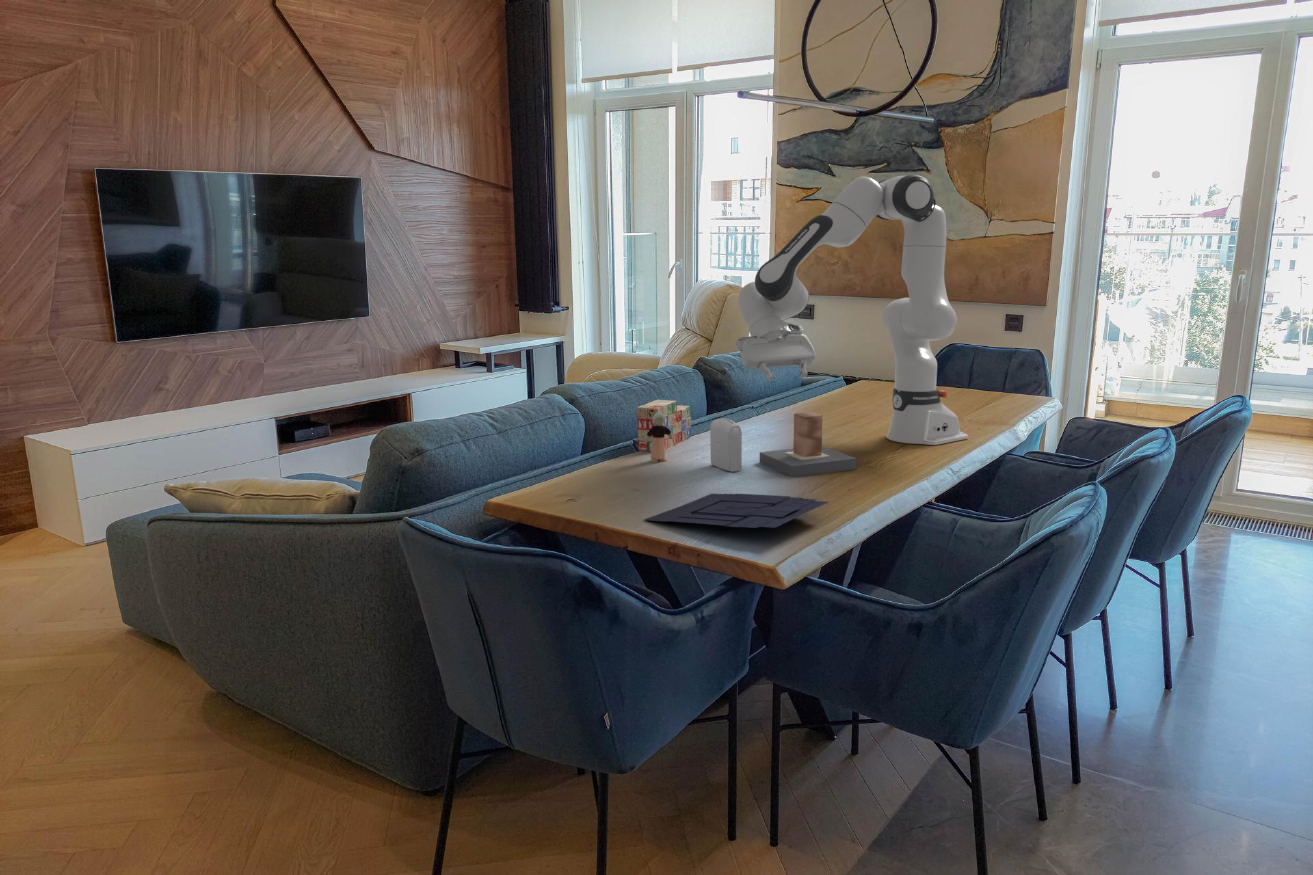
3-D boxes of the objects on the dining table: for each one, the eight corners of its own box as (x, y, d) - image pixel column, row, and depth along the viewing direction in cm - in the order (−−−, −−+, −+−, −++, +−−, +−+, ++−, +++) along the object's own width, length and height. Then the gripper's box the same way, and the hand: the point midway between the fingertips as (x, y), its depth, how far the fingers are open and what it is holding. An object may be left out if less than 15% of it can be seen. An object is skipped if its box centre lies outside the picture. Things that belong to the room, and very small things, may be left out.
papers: (771, 545, 160) (769, 525, 159) (643, 533, 179) (642, 515, 178) (835, 512, 178) (833, 495, 178) (713, 505, 197) (712, 489, 197)
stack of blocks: (671, 435, 259) (671, 394, 256) (691, 437, 256) (691, 395, 254) (637, 451, 240) (636, 406, 238) (658, 453, 238) (657, 407, 235)
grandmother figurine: (651, 464, 225) (650, 415, 222) (643, 461, 228) (642, 412, 225) (676, 459, 229) (675, 411, 226) (667, 457, 232) (667, 409, 230)
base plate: (820, 455, 231) (820, 444, 231) (856, 469, 217) (856, 457, 216) (759, 462, 225) (759, 451, 224) (792, 477, 210) (792, 464, 210)
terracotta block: (810, 451, 223) (811, 412, 221) (821, 455, 219) (822, 415, 217) (793, 453, 222) (794, 413, 219) (803, 457, 217) (804, 417, 215)
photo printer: (708, 464, 224) (708, 416, 221) (722, 462, 226) (722, 414, 223) (728, 473, 215) (729, 423, 212) (744, 471, 217) (744, 421, 214)
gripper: (737, 330, 226) (756, 372, 219) (807, 325, 233) (827, 367, 227) (730, 345, 231) (747, 388, 224) (798, 341, 238) (817, 382, 232)
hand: (788, 377), depth 225 cm, fingers open, 8 cm apart
